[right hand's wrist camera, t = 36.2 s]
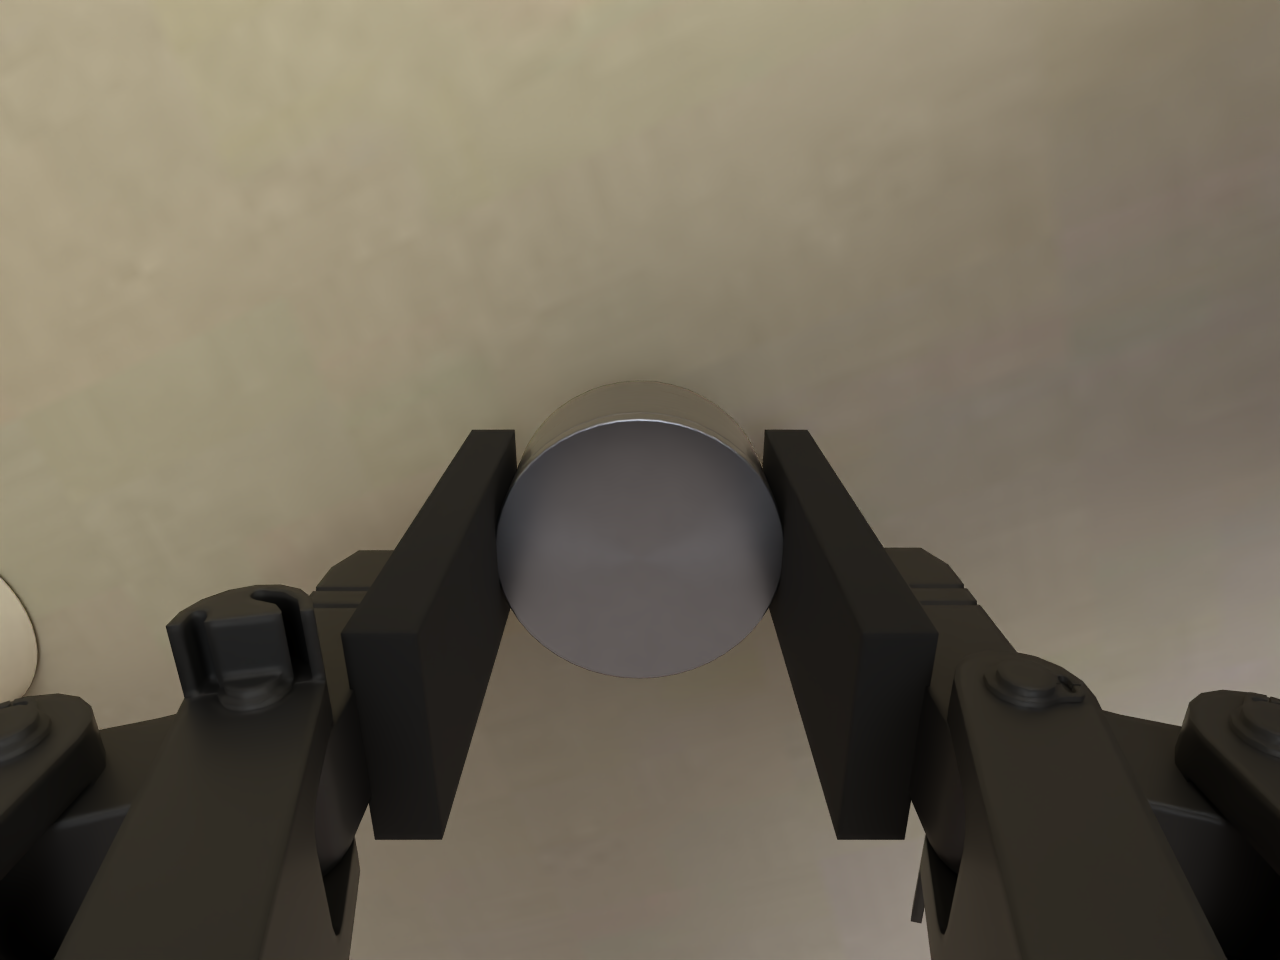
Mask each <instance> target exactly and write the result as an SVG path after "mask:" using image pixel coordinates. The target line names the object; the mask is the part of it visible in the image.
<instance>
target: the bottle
mask: <svg viewBox="0 0 1280 960" xmlns="http://www.w3.org/2000/svg"><path fill="white" fill-rule="evenodd" d="M37 653H38V650H37V643H36V637H35V633H34V630H33V626H32V624H31V621H30V619H29V617H28V615H27V612H26V611H25V609H24V607H23V606H22V604H21V602H20V600H19V599H18V598H17V596H16V595H15V594H14V592H13V591H12V590H11V588H10V587H9V586H8V585H7V584H6V583H5V581H4V580H3V579H2V578H1V577H0V703H3V702H6V701H9V700H10V702H11V701H14V699H18V698H22V697H23V696H24V694H25V693H26V691H27V690H28V688H29V687H30V685H31V682H32V680H33V677H34V675H35V671H36V666H37Z"/></svg>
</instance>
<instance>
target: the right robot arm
mask: <svg viewBox="0 0 1280 960" xmlns="http://www.w3.org/2000/svg"><path fill="white" fill-rule="evenodd" d="M762 470H763V472H764V474H765V477H766V479H767V482H768V484H769V487H770V489H771V491H772V494H773V496H774V499H775V501H776V504H777V506H778V510H779V513H780V516H781V519H782V524H783V530H784V541H783V555H782V568H781V579H780V583H779V586H778V589H777V592H776V594H775V596H774V598H773V601H772V603H771V605H770V606H769V609H770V613H771V616H772V620H773V623H774V626H775V630H776V633H777V637H778V640H779V643H780V647H781V650H782V653H783V657H784V660H785V664H786V667H787V670H788V674H789V677H790V681H791V684H792V687H793V691H794V694H795V698H796V701H797V704H798V708H799V711H800V714H801V718H802V721H803V725H804V728H805V731H806V735H807V738H808V742H809V745H810V748H811V752H812V755H813V759H814V762H815V765H816V769H817V772H818V775H819V779H820V782H821V786H822V789H823V792H824V796H825V799H826V803H827V806H828V809H829V813H830V816H831V820H832V823H833V826H834V830H835V833H836V836H837V840H904V839H905V833H906V827H907V821H908V815H909V809H910V803H911V801H912V803H913V805H914V807H915V810H916V812H917V814H918V817H919V819H920V821H921V824H922V826H923V828H924V831H925V833H926V835H925V841H924V846H923V852H922V857H921V863H920V868H919V874H918V880H917V885H916V891H915V896H914V902H913V908H912V916H911V921H912V922H917V923H922V917H923V912H924V907H925V914H926V922H927V930H928V938H929V946H930V953H931V960H1280V699H1277V698H1274V697H1270V698H1269V697H1267V695H1262V694H1257V693H1252V692H1239V691H1229V690H1218V691H1212V692H1205V693H1201V694H1199V695H1198V696H1197V697H1196V698H1194V699H1193V700H1192V701H1191V702H1189V705H1188V708H1187V712H1186V715H1185V718H1184V721H1183V724H1182V727H1181V726H1176V725H1170V724H1165V723H1160V722H1155V721H1150V720H1145V719H1140V718H1135V717H1130V716H1125V715H1120V714H1116V713H1112V712H1108V711H1104V710H1102V709H1101V707H1100V705H1099V703H1098V701H1097V699H1096V697H1095V696H1094V694H1093V693H1092V692H1091V691H1090V689H1089V688H1088V687H1087V686H1086V685H1085V683H1084V682H1083V681H1082V680H1080V679H1079V678H1077V677H1076V676H1074V675H1073V674H1071V673H1070V672H1068V671H1067V670H1065V669H1064V668H1062V667H1060V666H1058V665H1056V664H1053V663H1051V662H1048V661H1046V660H1043V659H1041V658H1039V657H1036V656H1031V655H1027V654H1022V653H1017V652H1016V650H1015V649H1014V648H1013V647H1012V645H1011V644H1010V643H1009V642H1008V640H1007V639H1006V638H1005V636H1004V635H1003V634H1002V633H1001V631H1000V630H999V629H998V628H997V626H996V625H995V624H994V622H993V621H992V620H991V619H990V617H989V616H988V615H987V613H986V612H985V611H984V610H983V608H982V607H981V606H980V605H977V601H976V599H975V598H974V597H973V596H972V594H971V593H970V592H969V590H968V589H967V588H964V584H963V583H962V582H961V580H960V579H959V578H958V576H957V575H956V574H955V573H954V571H953V570H952V569H951V568H950V566H949V565H948V564H946V563H945V562H943V561H941V560H940V559H938V558H937V557H935V556H933V555H932V554H930V553H928V552H927V551H925V550H923V549H922V548H883V546H882V545H881V543H880V541H879V540H878V538H877V537H876V535H875V534H874V532H873V531H872V529H871V528H870V526H869V524H868V523H867V521H866V520H865V518H864V517H863V515H862V514H861V512H860V511H859V509H858V507H857V506H856V504H855V503H854V501H853V500H852V498H851V497H850V495H849V494H848V492H847V490H846V489H845V487H844V486H843V484H842V483H841V481H840V480H839V478H838V476H837V475H836V473H835V472H834V470H833V469H832V467H831V466H830V464H829V463H828V461H827V459H826V458H825V456H824V455H823V453H822V452H821V450H820V449H819V447H818V446H817V444H816V442H815V441H814V439H813V438H812V436H811V435H810V433H809V432H808V430H765V437H764V453H763V469H762ZM516 471H517V462H516V446H515V430H472V431H471V432H470V434H469V435H468V437H467V439H466V440H465V442H464V443H463V445H462V446H461V448H460V449H459V451H458V452H457V454H456V456H455V457H454V459H453V460H452V462H451V463H450V465H449V466H448V468H447V469H446V471H445V473H444V474H443V476H442V477H441V479H440V480H439V482H438V483H437V485H436V486H435V488H434V490H433V491H432V493H431V494H430V496H429V497H428V499H427V500H426V502H425V503H424V505H423V507H422V508H421V510H420V511H419V513H418V514H417V516H416V517H415V519H414V520H413V522H412V524H411V525H410V527H409V528H408V530H407V531H406V533H405V534H404V536H403V537H402V539H401V541H400V542H399V544H398V545H397V547H396V548H395V550H359V551H357V552H356V553H354V554H352V555H351V556H349V557H348V558H346V559H344V560H343V561H341V562H339V563H338V564H336V565H335V566H333V567H331V569H330V570H329V571H328V573H327V574H326V575H325V576H324V578H323V579H322V580H321V582H320V583H319V584H318V585H317V587H316V591H313V592H312V593H311V594H310V596H309V595H308V594H306V593H305V592H304V591H302V590H301V589H298V588H293V587H289V586H285V585H254V586H248V587H243V588H237V589H232V590H228V591H225V592H222V593H219V594H216V595H213V596H210V597H208V598H205V599H202V600H200V601H198V602H197V603H195V604H193V605H191V606H190V607H188V608H186V609H184V610H183V611H181V612H179V613H178V614H177V615H176V616H175V617H174V618H173V619H172V621H171V622H170V623H169V624H168V625H167V626H166V629H167V633H168V637H169V641H170V644H171V648H172V652H173V656H174V660H175V663H176V667H177V671H178V675H179V678H180V682H181V686H182V690H183V694H184V697H185V698H184V700H183V702H182V704H181V706H180V708H179V710H178V712H177V714H174V715H170V716H166V717H162V718H158V719H153V720H148V721H143V722H138V723H133V724H128V725H122V726H117V727H112V728H107V729H102V730H99V729H98V726H97V723H96V720H95V717H94V714H93V711H92V708H91V706H90V705H89V704H88V703H86V702H85V701H84V700H83V699H81V698H80V697H77V696H70V695H64V694H49V695H39V696H27V697H23V698H18V699H14V701H11V702H10V700H9V701H6V702H3V703H0V960H349V955H350V947H351V939H352V931H353V924H354V916H355V908H356V900H357V892H358V884H359V876H360V866H359V858H358V852H357V846H356V841H355V834H356V831H357V829H358V827H359V824H360V822H361V820H362V817H363V815H364V813H365V810H366V808H367V806H368V803H369V807H370V813H371V819H372V825H373V831H374V837H375V840H442V838H443V835H444V831H445V828H446V824H447V821H448V818H449V814H450V811H451V808H452V804H453V801H454V797H455V794H456V791H457V787H458V784H459V780H460V777H461V774H462V770H463V767H464V764H465V760H466V757H467V753H468V750H469V747H470V743H471V740H472V736H473V733H474V730H475V726H476V723H477V719H478V716H479V713H480V709H481V706H482V703H483V699H484V696H485V692H486V689H487V686H488V682H489V679H490V675H491V672H492V669H493V665H494V662H495V659H496V655H497V652H498V648H499V645H500V642H501V638H502V635H503V631H504V628H505V625H506V621H507V618H508V614H509V611H510V606H509V604H508V602H507V600H506V598H505V596H504V593H503V591H502V588H501V585H500V582H499V574H498V562H497V549H496V524H497V521H498V517H499V514H500V510H501V507H502V504H503V502H504V500H505V497H506V495H507V492H508V490H509V488H510V485H511V483H512V480H513V478H514V475H515V473H516Z"/></svg>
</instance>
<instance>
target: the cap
mask: <svg viewBox="0 0 1280 960" xmlns="http://www.w3.org/2000/svg"><path fill="white" fill-rule="evenodd" d="M783 541H784V530H783V524H782V519H781V516H780V513H779V510H778V506H777V504H776V501H775V499H774V496H773V494H772V491H771V489H770V487H769V484H768V482H767V479H766V477H765V474H764V472H763V470H762V467H761V465H760V462H759V460H758V457H757V455H756V453H755V451H754V449H753V447H752V445H751V443H750V441H749V440H748V438H747V437H746V435H745V434H744V432H743V431H742V429H741V428H740V427H739V426H738V425H737V423H736V422H735V421H734V420H733V419H732V418H731V417H730V416H729V415H728V414H727V413H726V412H724V411H723V410H722V409H721V408H720V407H718V406H717V405H715V404H714V403H712V402H711V401H709V400H708V399H706V398H705V397H703V396H701V395H698V394H696V393H694V392H692V391H690V390H687V389H684V388H681V387H678V386H675V385H671V384H666V383H660V382H653V381H628V382H619V383H614V384H609V385H604V386H601V387H598V388H595V389H592V390H590V391H587V392H585V393H583V394H581V395H579V396H577V397H575V398H573V399H571V400H570V401H568V402H567V403H566V404H564V405H563V406H561V407H560V408H558V409H557V410H556V411H555V412H554V413H553V414H552V415H551V416H549V417H548V418H547V419H546V420H545V421H544V423H543V424H542V425H541V426H540V427H539V429H538V430H537V431H536V432H535V434H534V436H533V437H532V439H531V440H530V442H529V443H528V445H527V447H526V450H525V452H524V454H523V456H522V459H521V461H520V463H519V466H518V468H517V471H516V473H515V475H514V478H513V480H512V483H511V485H510V488H509V490H508V492H507V495H506V497H505V500H504V502H503V504H502V507H501V510H500V514H499V517H498V521H497V524H496V549H497V562H498V574H499V582H500V585H501V588H502V591H503V593H504V596H505V598H506V600H507V602H508V604H509V606H510V608H511V609H512V611H513V612H514V614H515V615H516V617H517V618H518V620H519V621H520V623H521V624H522V625H523V626H524V627H525V628H526V630H527V631H528V632H529V633H530V634H531V635H532V636H533V637H534V638H535V639H536V640H538V641H539V642H540V643H541V644H542V645H543V646H544V647H546V648H547V649H549V650H550V651H552V652H553V653H554V654H556V655H557V656H559V657H561V658H563V659H565V660H567V661H568V662H570V663H572V664H575V665H577V666H580V667H582V668H585V669H587V670H590V671H594V672H597V673H601V674H605V675H610V676H616V677H623V678H655V677H663V676H669V675H675V674H679V673H682V672H686V671H689V670H692V669H695V668H697V667H700V666H702V665H705V664H707V663H709V662H711V661H713V660H715V659H716V658H718V657H720V656H722V655H723V654H725V653H726V652H728V651H729V650H731V649H732V648H733V647H735V646H736V645H737V644H739V643H740V642H741V641H742V640H743V639H744V638H745V637H746V636H747V635H748V634H749V633H750V632H751V631H752V630H753V629H754V628H755V626H756V625H757V624H758V623H759V622H760V620H761V619H762V618H763V616H764V614H765V613H766V611H767V610H768V608H769V606H770V605H771V603H772V601H773V598H774V596H775V594H776V592H777V589H778V586H779V583H780V579H781V568H782V555H783Z"/></svg>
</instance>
